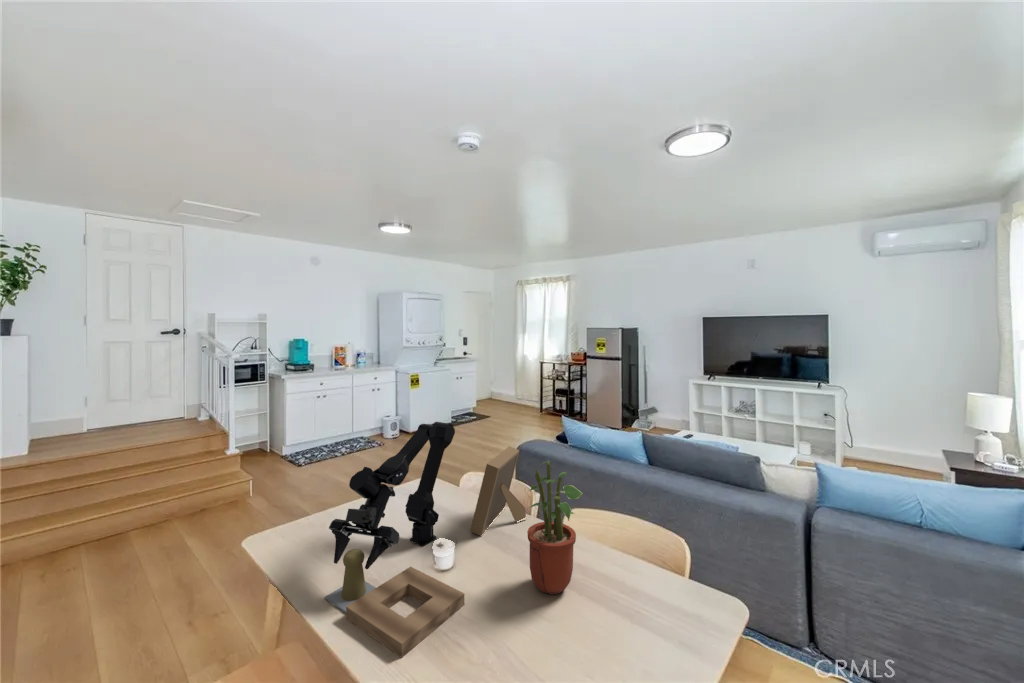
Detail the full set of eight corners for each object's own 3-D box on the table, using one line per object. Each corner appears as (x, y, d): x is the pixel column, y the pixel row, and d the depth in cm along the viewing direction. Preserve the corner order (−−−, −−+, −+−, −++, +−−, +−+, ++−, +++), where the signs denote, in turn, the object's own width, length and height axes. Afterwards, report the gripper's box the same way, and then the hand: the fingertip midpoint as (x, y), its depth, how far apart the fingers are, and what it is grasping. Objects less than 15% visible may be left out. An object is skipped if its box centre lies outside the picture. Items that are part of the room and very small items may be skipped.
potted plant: (564, 610, 100) (566, 471, 99) (510, 589, 108) (511, 460, 107) (587, 573, 116) (589, 452, 115) (538, 557, 123) (539, 444, 122)
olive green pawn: (351, 604, 101) (351, 560, 101) (336, 595, 104) (336, 553, 104) (371, 590, 106) (371, 549, 106) (356, 583, 109) (356, 543, 109)
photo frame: (469, 534, 137) (471, 461, 136) (494, 507, 157) (495, 444, 157) (510, 542, 132) (512, 467, 131) (530, 514, 153) (532, 449, 152)
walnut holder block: (410, 576, 113) (410, 566, 113) (464, 605, 102) (464, 593, 102) (346, 618, 97) (346, 606, 97) (401, 657, 85) (401, 643, 85)
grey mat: (358, 579, 112) (358, 577, 112) (381, 592, 106) (381, 590, 106) (324, 598, 104) (324, 596, 104) (347, 614, 98) (347, 612, 98)
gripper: (333, 490, 111) (303, 550, 100) (393, 497, 106) (369, 562, 96) (351, 506, 118) (325, 564, 108) (408, 513, 114) (387, 575, 103)
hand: (350, 566), depth 104 cm, fingers open, 9 cm apart
